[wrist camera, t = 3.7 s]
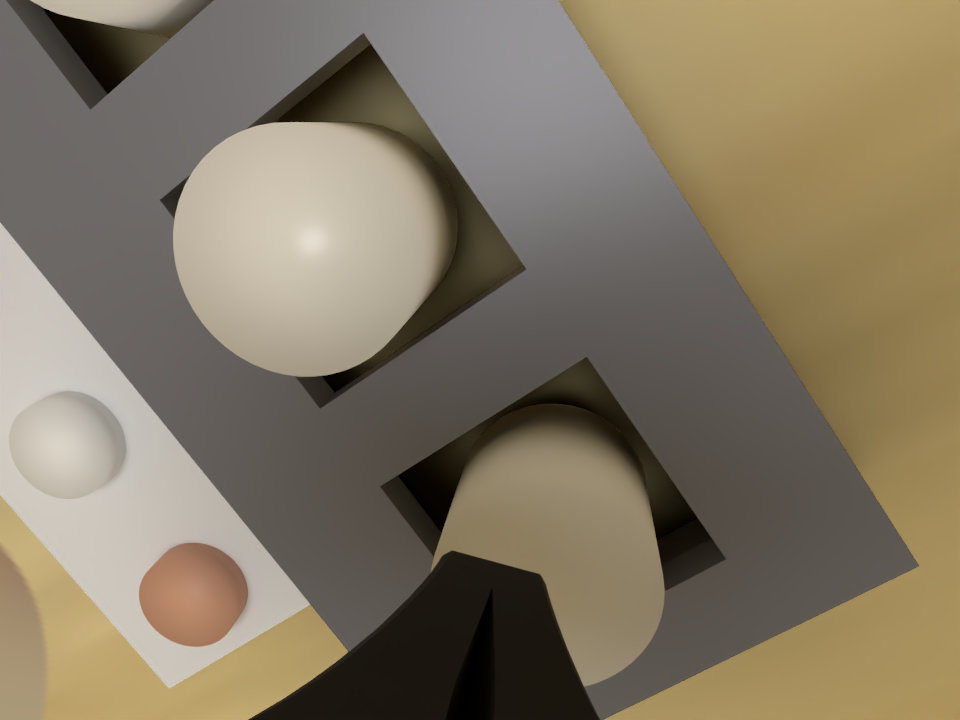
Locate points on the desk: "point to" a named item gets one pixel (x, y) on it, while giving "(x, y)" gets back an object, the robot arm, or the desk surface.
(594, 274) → the grey slotted tray
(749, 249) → the desk surface
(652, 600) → the button
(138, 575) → the pattern card
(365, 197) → the button
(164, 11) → the button
